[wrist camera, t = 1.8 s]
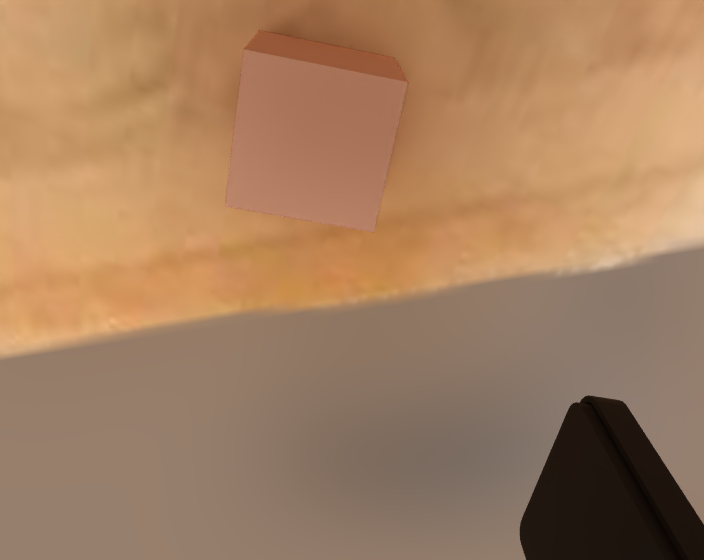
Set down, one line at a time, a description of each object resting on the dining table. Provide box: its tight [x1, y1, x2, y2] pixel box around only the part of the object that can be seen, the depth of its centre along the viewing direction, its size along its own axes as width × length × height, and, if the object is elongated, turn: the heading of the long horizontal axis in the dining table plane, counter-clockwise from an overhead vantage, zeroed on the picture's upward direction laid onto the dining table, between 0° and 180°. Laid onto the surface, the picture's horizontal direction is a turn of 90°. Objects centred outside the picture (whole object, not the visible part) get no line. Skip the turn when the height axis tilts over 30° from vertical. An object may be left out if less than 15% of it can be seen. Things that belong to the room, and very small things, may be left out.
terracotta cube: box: [225, 30, 408, 232], centre depth 28 cm, size 6×6×6 cm
